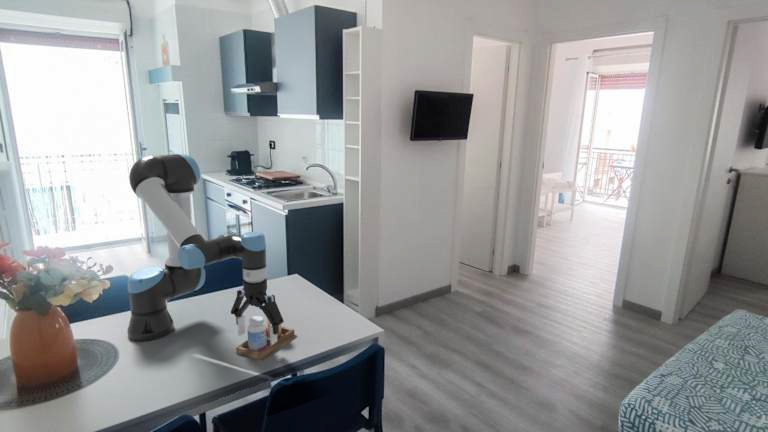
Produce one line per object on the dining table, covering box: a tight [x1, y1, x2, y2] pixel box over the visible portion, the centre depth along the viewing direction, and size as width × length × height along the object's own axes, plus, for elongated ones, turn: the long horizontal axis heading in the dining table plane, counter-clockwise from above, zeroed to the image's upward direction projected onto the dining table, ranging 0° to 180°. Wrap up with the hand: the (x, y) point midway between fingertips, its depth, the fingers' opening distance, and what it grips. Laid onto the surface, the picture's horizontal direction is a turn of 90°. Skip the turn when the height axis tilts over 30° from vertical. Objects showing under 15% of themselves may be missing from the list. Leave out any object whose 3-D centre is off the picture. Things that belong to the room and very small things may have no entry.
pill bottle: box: [247, 315, 267, 352], centre depth 147 cm, size 6×6×11 cm
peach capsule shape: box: [266, 317, 283, 339], centre depth 155 cm, size 5×5×8 cm
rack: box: [234, 325, 297, 361], centre depth 152 cm, size 12×19×3 cm, turn 156°
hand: (257, 338), depth 147 cm, fingers open, 13 cm apart
